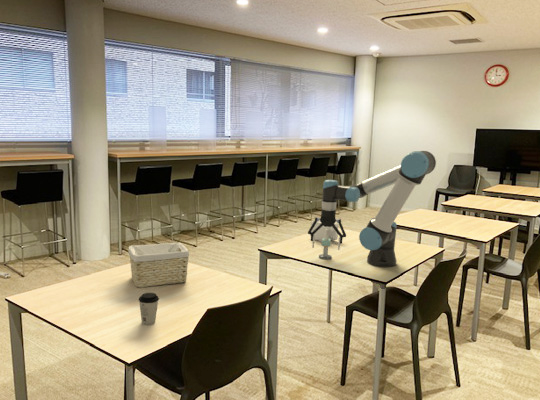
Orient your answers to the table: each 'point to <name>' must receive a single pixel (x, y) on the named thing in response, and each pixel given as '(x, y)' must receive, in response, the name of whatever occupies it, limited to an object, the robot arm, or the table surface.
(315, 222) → the robot arm
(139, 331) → the table surface
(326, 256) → the post
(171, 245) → the storage basket
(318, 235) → the cable organizer
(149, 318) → the coffee cup
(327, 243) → the sleeve
